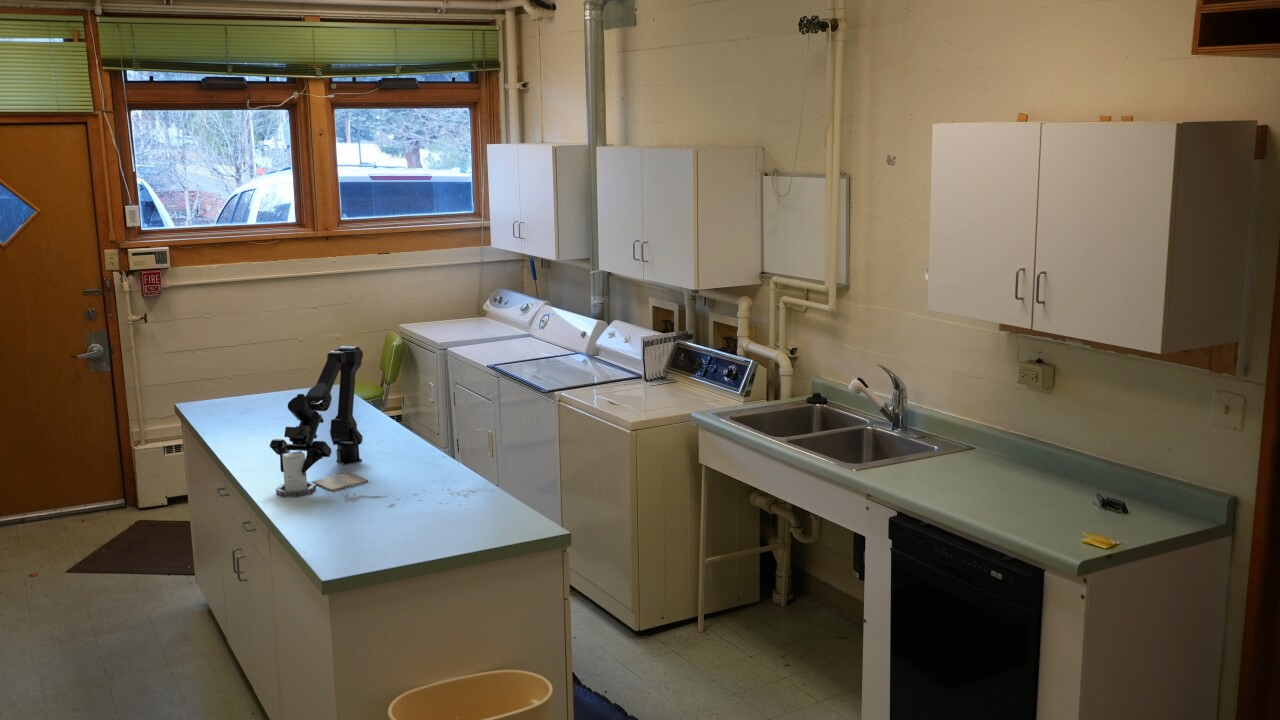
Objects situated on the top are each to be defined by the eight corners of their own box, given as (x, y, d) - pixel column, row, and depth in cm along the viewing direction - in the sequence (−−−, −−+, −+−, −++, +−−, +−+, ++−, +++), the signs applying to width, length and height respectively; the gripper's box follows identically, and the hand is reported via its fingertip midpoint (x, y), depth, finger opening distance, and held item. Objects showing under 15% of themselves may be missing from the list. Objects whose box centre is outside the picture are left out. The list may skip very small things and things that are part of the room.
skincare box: (288, 494, 341) (285, 457, 339) (284, 491, 345) (280, 453, 342) (308, 491, 345) (305, 453, 342) (304, 487, 348) (300, 450, 346)
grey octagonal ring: (304, 483, 352) (304, 479, 352) (321, 490, 344) (321, 486, 344) (271, 491, 345) (270, 487, 345) (287, 499, 337) (287, 494, 337)
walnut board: (348, 474, 362) (348, 472, 361) (369, 482, 352) (368, 480, 352) (311, 483, 353) (311, 481, 353) (331, 491, 344) (331, 489, 343)
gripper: (269, 414, 346) (253, 458, 338) (323, 416, 342) (307, 461, 333) (285, 432, 355) (269, 475, 347) (338, 434, 351) (323, 478, 342)
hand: (292, 472), depth 342 cm, fingers closed on skincare box, 7 cm apart
